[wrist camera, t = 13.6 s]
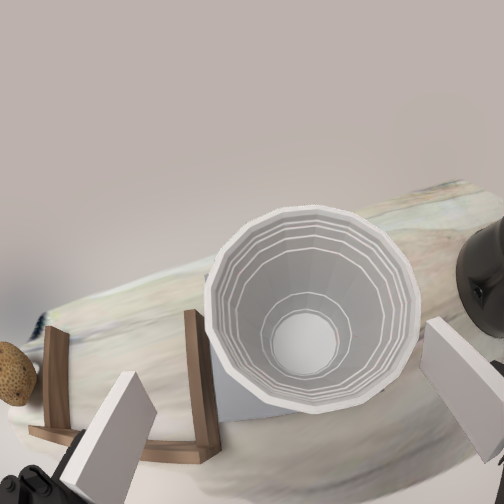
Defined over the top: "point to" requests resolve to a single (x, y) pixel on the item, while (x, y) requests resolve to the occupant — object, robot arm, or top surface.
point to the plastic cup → (312, 308)
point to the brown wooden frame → (153, 450)
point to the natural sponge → (15, 375)
